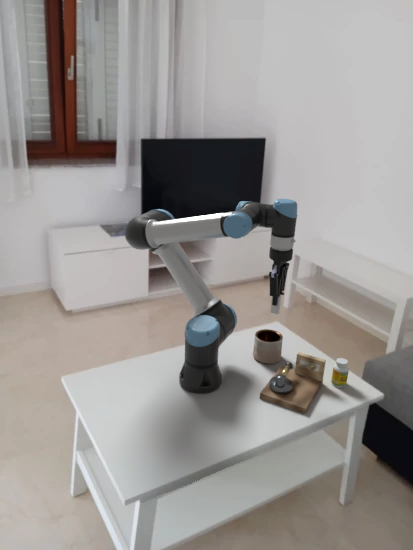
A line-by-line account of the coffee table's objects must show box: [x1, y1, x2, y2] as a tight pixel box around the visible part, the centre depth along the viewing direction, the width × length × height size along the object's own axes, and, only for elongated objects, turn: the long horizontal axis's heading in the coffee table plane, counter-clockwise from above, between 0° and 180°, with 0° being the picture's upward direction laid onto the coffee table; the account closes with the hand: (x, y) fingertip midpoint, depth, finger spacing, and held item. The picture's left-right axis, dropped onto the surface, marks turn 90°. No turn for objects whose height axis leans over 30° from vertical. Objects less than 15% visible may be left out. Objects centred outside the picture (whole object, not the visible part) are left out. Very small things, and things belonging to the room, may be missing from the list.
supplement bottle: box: [330, 357, 350, 389], centre depth 169 cm, size 5×5×10 cm
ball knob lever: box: [268, 361, 294, 394], centre depth 164 cm, size 13×8×6 cm, turn 153°
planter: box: [252, 328, 284, 365], centre depth 184 cm, size 11×11×10 cm
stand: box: [259, 351, 326, 414], centre depth 164 cm, size 16×20×10 cm
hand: (275, 312), depth 163 cm, fingers closed
